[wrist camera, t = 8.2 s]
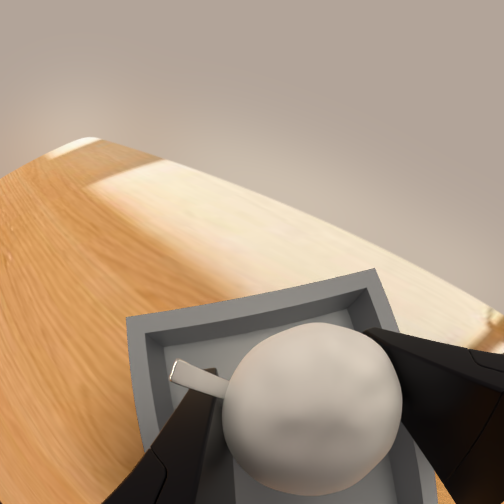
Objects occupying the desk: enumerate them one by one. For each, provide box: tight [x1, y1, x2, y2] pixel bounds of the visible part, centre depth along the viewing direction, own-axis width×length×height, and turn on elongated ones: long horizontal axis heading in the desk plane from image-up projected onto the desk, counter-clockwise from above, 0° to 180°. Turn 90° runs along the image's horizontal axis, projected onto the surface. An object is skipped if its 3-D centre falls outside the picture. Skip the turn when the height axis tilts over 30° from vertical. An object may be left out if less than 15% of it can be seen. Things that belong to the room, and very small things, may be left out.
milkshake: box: [169, 322, 402, 496], centre depth 8 cm, size 4×5×10 cm
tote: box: [126, 268, 438, 504], centre depth 11 cm, size 20×14×4 cm
